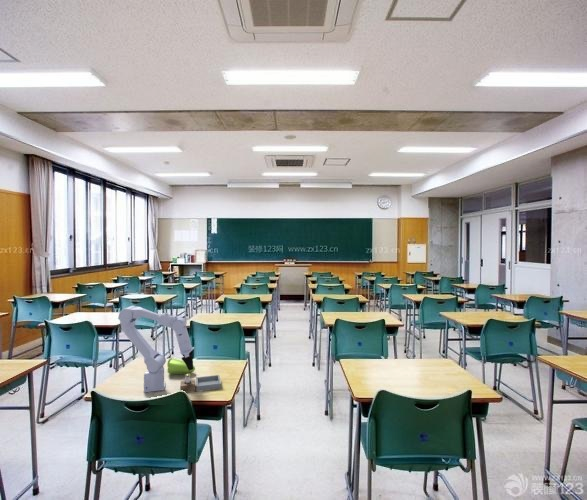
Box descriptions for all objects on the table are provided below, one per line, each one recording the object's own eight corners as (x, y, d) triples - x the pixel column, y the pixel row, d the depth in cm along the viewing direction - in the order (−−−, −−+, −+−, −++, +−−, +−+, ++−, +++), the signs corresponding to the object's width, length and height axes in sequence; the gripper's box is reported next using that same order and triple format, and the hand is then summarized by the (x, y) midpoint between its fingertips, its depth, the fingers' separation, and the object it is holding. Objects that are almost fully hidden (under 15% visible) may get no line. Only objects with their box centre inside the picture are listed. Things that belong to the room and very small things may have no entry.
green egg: (157, 358, 185) (191, 363, 182) (168, 356, 197) (200, 360, 194) (154, 373, 184) (188, 378, 181) (166, 369, 196) (198, 374, 192)
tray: (196, 391, 164) (196, 386, 164) (195, 382, 176) (195, 377, 176) (221, 388, 168) (221, 383, 168) (219, 379, 179) (219, 374, 179)
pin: (185, 389, 166) (185, 375, 166) (185, 387, 169) (185, 373, 169) (190, 389, 167) (190, 375, 167) (190, 387, 169) (190, 373, 169)
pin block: (180, 392, 163) (180, 386, 163) (180, 386, 170) (180, 380, 170) (195, 390, 166) (195, 384, 166) (194, 384, 172) (194, 379, 172)
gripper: (192, 341, 163) (199, 368, 163) (191, 336, 177) (198, 361, 177) (177, 346, 161) (184, 373, 161) (178, 340, 174) (185, 365, 175)
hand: (191, 367), depth 169 cm, fingers open, 7 cm apart
